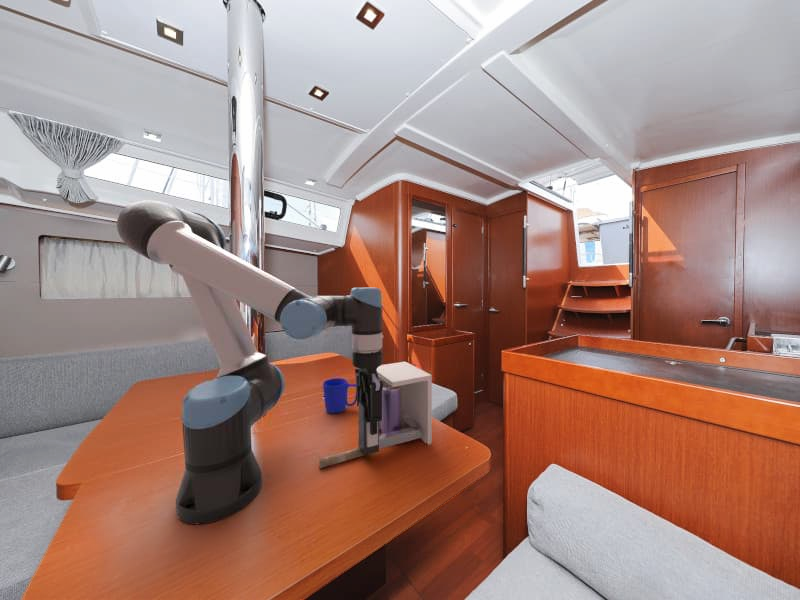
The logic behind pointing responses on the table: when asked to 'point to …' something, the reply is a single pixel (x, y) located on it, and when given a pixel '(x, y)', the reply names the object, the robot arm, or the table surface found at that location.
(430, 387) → the corner shelf
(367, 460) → the table surface
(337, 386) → the mug
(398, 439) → the grey angled piece
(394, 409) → the beverage can
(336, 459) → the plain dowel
